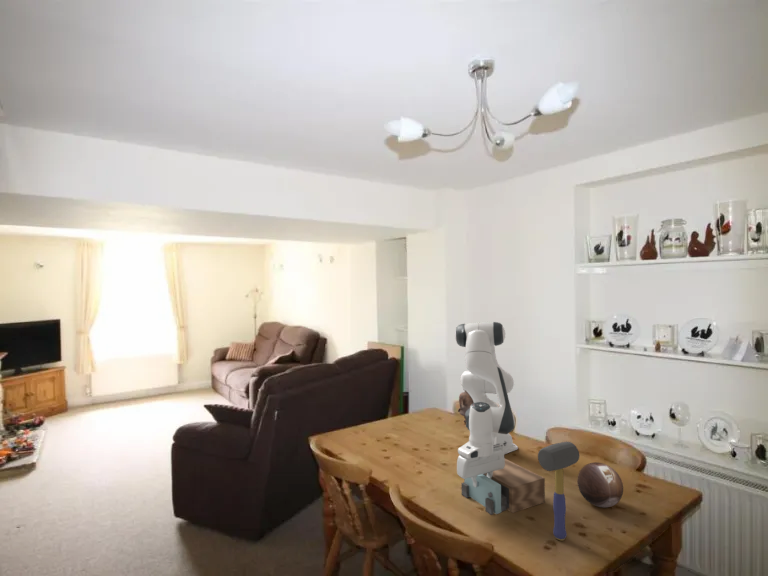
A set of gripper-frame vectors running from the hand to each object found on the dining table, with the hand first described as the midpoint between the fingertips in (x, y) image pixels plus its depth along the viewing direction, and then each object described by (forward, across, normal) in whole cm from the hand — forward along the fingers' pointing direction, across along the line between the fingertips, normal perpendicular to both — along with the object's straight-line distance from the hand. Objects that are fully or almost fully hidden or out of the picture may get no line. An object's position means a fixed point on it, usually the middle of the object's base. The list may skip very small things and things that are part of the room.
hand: (481, 484), depth 162 cm
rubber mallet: (+7, -6, +30) cm, 31 cm away
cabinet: (+7, -9, 0) cm, 11 cm away
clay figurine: (+7, -56, -80) cm, 98 cm away
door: (+7, 0, 0) cm, 7 cm away
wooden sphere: (+7, -36, +22) cm, 43 cm away
